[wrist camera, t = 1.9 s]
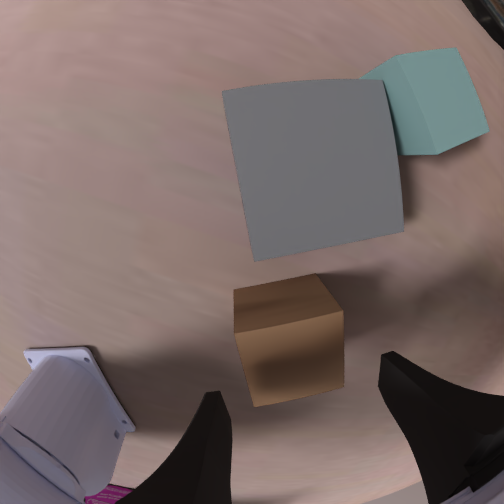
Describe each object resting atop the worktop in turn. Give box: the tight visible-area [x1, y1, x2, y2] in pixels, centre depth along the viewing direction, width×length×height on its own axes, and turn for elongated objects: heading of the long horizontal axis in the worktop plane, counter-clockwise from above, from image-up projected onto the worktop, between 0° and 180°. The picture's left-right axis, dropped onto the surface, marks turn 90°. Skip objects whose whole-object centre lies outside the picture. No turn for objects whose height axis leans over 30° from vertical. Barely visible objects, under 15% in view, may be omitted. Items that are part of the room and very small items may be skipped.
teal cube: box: [359, 48, 489, 155], centre depth 12 cm, size 5×5×5 cm
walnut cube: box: [234, 274, 344, 407], centre depth 15 cm, size 5×5×5 cm
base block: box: [222, 79, 404, 262], centre depth 14 cm, size 8×8×3 cm
